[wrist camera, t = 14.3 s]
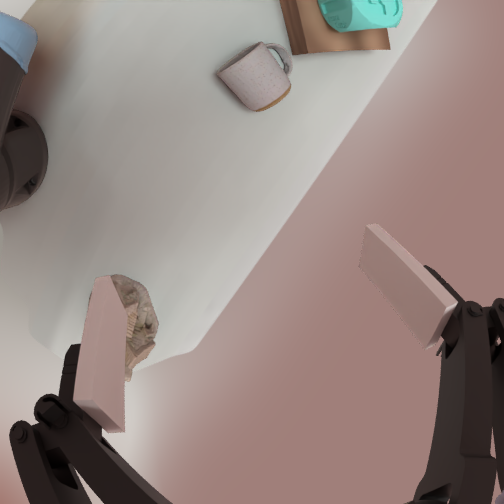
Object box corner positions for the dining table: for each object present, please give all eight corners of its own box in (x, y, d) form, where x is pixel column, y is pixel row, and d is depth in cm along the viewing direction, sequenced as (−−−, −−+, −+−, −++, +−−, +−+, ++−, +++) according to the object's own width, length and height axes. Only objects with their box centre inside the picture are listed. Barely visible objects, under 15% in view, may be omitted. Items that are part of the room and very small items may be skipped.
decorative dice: (309, -16, 26) (340, -31, 19) (358, -19, 26) (393, -29, 19) (327, 34, 30) (361, 29, 24) (373, 28, 30) (410, 26, 24)
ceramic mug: (248, 112, 40) (262, 119, 34) (212, 74, 35) (220, 72, 29) (299, 71, 38) (322, 72, 32) (266, 32, 33) (285, 24, 27)
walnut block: (291, 55, 36) (308, 53, 32) (271, -25, 28) (285, -37, 23) (368, 49, 37) (390, 49, 33) (352, -23, 29) (373, -31, 24)
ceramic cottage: (139, 349, 60) (140, 404, 47) (75, 312, 52) (61, 368, 39) (182, 306, 58) (191, 363, 45) (114, 260, 49) (102, 316, 36)
